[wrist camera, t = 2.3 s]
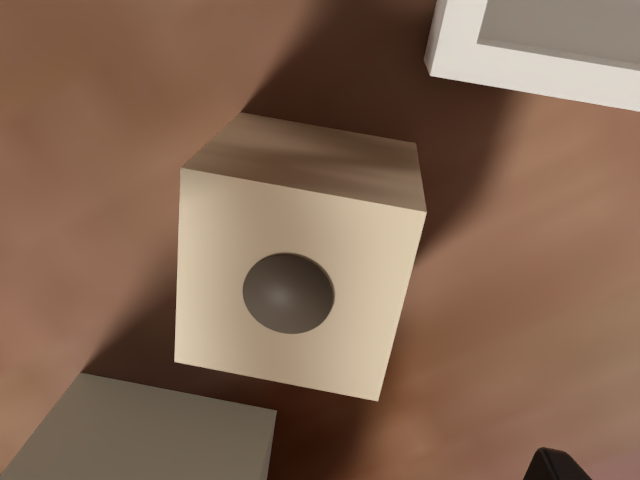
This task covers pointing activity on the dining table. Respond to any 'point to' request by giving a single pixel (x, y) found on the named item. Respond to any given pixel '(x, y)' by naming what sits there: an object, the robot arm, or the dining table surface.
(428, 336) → the dining table surface
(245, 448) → the sage block
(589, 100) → the tray
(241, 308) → the maple block
